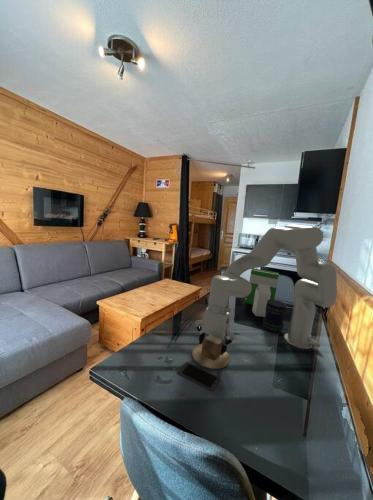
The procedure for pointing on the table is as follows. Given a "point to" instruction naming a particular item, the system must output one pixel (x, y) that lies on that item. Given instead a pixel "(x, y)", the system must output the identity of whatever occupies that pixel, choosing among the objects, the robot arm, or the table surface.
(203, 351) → the walnut cube
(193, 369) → the cell phone
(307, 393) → the table surface
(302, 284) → the robot arm
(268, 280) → the hardback book
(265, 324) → the storage jar
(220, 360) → the plate
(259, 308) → the milk carton
